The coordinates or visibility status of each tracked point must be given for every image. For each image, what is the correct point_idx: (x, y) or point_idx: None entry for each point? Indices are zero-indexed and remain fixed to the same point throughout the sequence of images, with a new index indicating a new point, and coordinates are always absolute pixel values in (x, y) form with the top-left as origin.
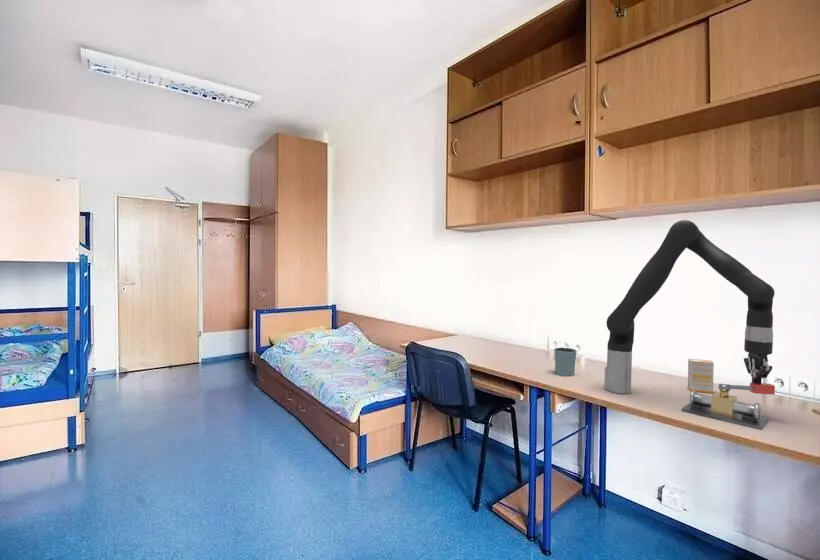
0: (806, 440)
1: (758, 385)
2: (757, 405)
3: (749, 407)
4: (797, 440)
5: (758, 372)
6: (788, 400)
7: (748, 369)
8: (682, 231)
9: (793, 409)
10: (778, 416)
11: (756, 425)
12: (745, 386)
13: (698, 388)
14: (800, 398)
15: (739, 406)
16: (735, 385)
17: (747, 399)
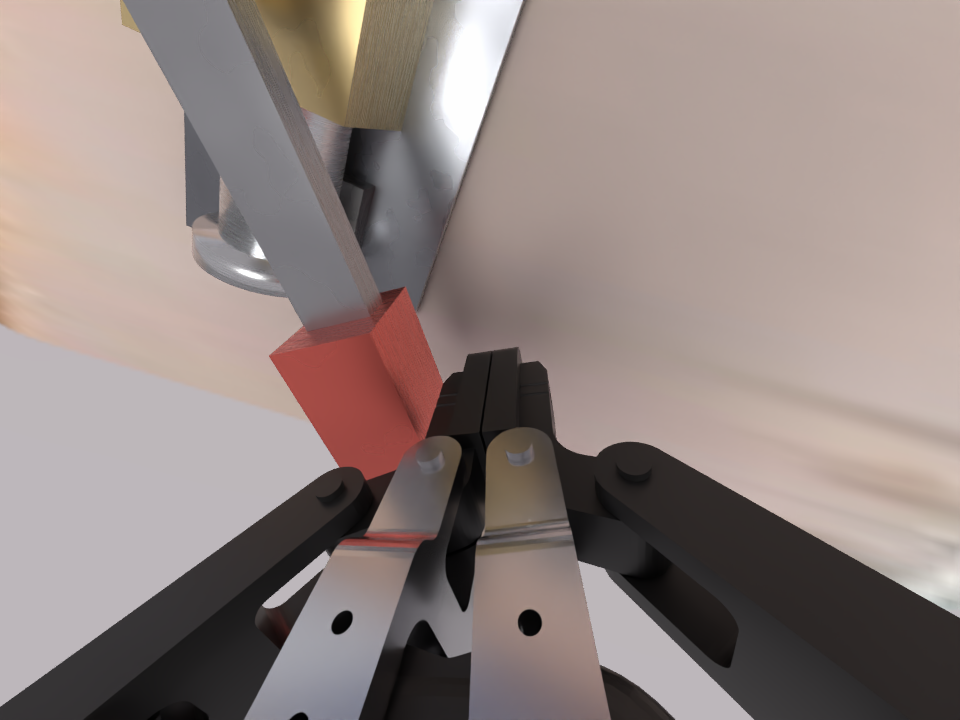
0: (203, 373)
1: (300, 389)
2: (198, 259)
3: (220, 199)
4: (168, 339)
5: (259, 562)
6: (904, 527)
7: (667, 515)
8: None
9: None
10: (550, 389)
11: (188, 201)
12: (282, 239)
13: None
14: (946, 578)
15: None
16: (233, 84)
17: (928, 343)
